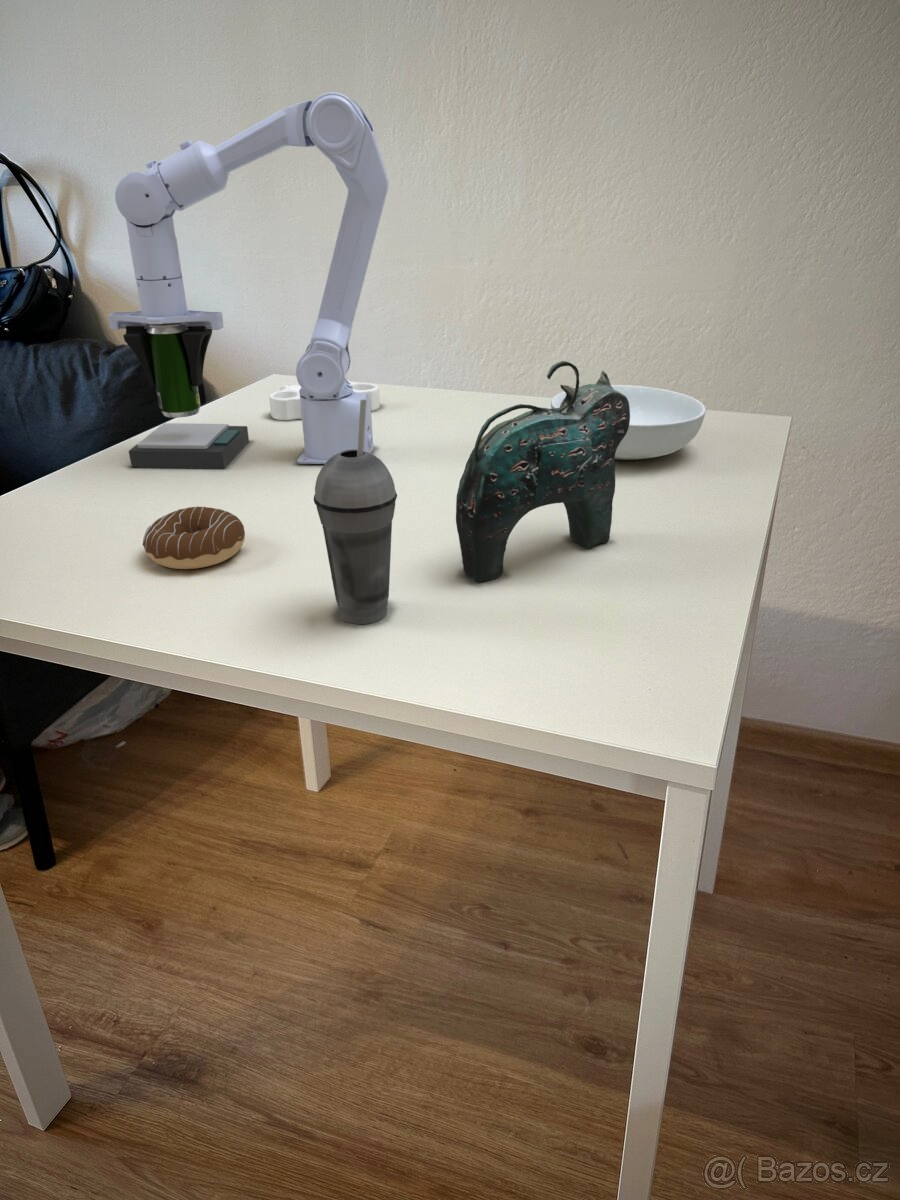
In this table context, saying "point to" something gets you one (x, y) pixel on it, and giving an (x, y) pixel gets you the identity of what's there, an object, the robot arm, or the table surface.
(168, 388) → the beer can
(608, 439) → the ceramic cat
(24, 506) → the table surface
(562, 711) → the table surface
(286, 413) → the knuckle duster
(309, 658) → the table surface
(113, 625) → the table surface
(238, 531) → the donut
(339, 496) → the beverage cup
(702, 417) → the serving bowl
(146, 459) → the scale
